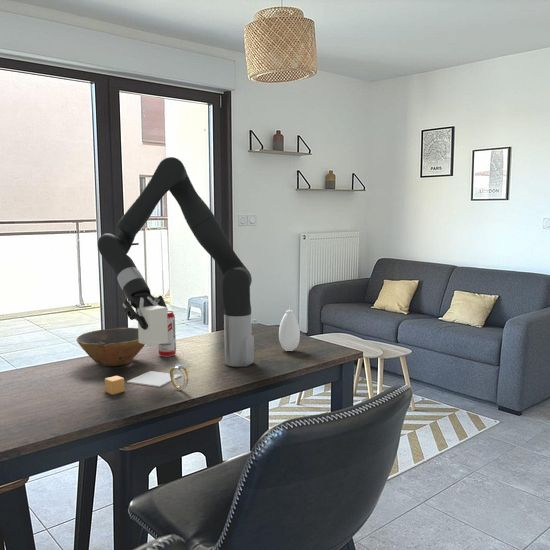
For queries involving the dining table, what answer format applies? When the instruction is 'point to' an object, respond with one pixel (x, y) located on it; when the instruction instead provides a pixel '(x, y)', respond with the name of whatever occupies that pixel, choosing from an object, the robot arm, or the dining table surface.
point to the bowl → (111, 345)
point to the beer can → (169, 338)
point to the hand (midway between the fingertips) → (156, 326)
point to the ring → (184, 372)
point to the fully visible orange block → (114, 385)
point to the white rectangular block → (154, 326)
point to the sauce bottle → (289, 331)
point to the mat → (153, 379)
